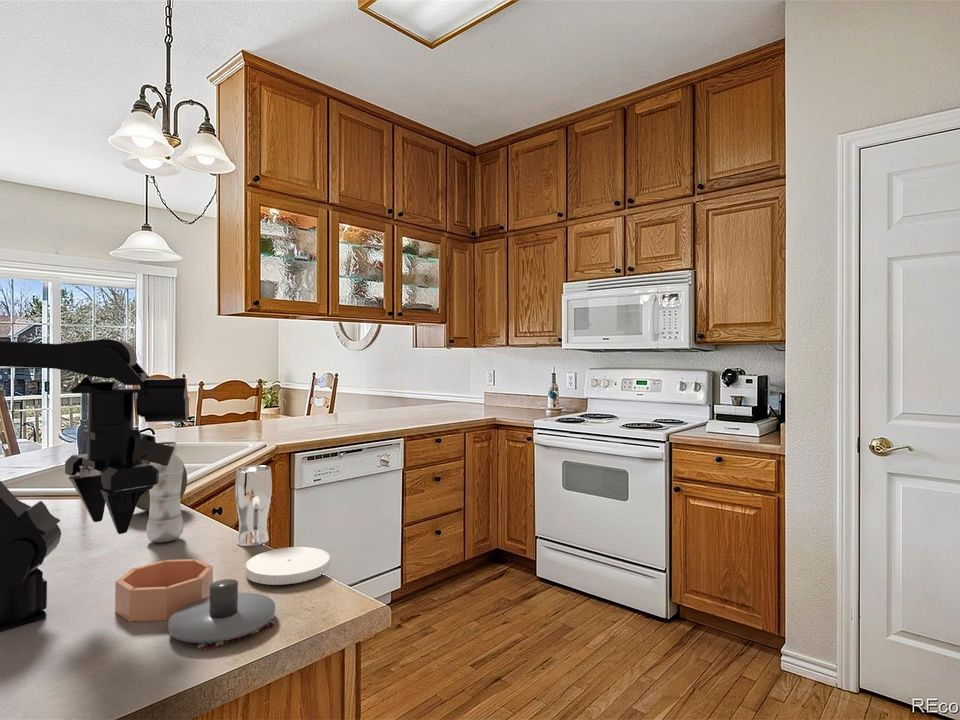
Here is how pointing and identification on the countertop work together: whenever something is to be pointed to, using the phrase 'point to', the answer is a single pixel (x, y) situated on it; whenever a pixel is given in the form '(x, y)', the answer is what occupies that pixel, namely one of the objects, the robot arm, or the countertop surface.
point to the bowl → (161, 589)
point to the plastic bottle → (166, 501)
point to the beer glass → (253, 504)
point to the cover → (221, 615)
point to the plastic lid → (287, 565)
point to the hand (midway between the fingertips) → (109, 527)
